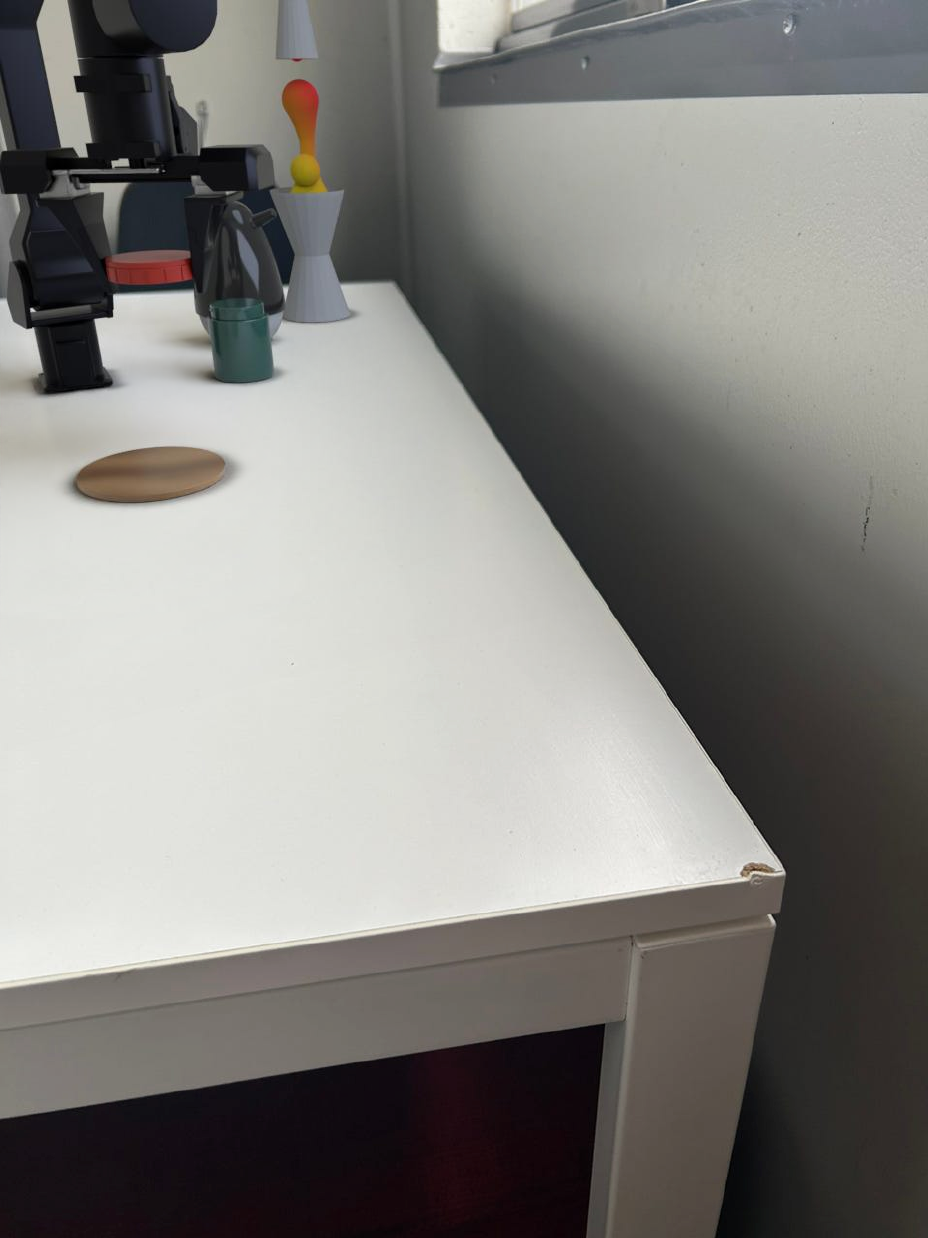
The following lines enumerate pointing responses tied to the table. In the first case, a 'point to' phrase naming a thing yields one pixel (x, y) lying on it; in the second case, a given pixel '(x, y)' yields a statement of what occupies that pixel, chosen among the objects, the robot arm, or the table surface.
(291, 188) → the lava lamp
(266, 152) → the robot arm
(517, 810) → the table surface
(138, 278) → the jar lid
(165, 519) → the table surface
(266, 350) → the jar
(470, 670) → the table surface
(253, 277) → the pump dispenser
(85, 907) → the table surface
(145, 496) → the coaster
